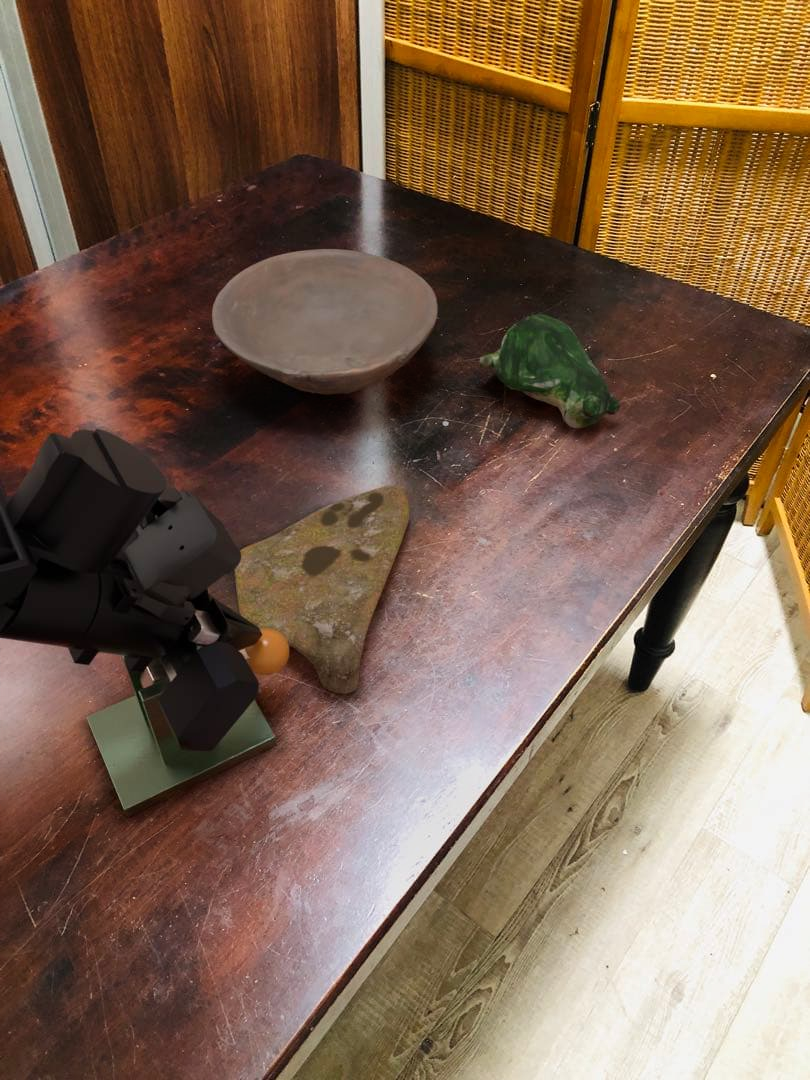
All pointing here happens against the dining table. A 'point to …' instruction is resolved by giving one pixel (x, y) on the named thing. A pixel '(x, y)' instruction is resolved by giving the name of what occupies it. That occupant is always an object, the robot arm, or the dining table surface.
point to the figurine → (552, 370)
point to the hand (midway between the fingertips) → (257, 635)
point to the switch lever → (260, 656)
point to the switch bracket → (165, 747)
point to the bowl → (325, 318)
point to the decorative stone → (325, 579)
